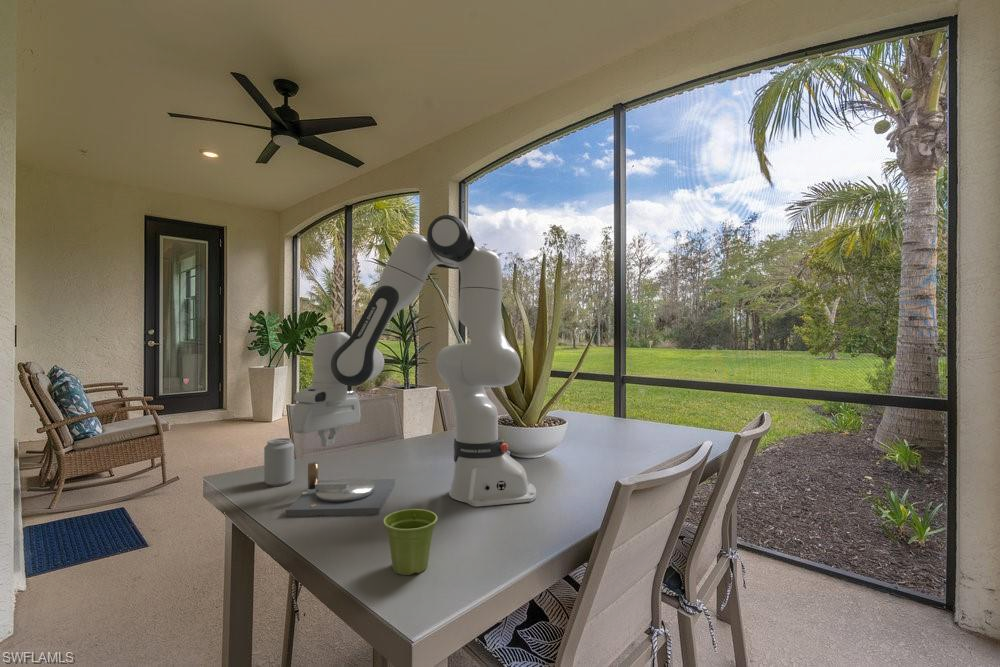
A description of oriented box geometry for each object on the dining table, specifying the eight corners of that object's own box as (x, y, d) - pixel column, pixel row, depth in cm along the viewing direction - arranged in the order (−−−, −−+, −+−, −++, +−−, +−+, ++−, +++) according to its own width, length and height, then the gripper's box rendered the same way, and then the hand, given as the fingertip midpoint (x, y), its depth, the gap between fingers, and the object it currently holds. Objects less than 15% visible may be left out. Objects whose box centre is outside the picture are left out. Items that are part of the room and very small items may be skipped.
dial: (379, 482, 123) (379, 455, 123) (367, 501, 109) (367, 471, 109) (317, 483, 122) (317, 456, 122) (297, 502, 108) (297, 472, 108)
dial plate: (394, 484, 127) (394, 478, 127) (379, 514, 106) (379, 507, 106) (316, 486, 126) (316, 479, 126) (285, 516, 105) (285, 508, 105)
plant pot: (400, 551, 88) (400, 506, 88) (445, 558, 85) (445, 511, 85) (372, 576, 79) (372, 525, 79) (422, 584, 76) (422, 532, 76)
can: (282, 488, 124) (282, 443, 124) (258, 486, 126) (258, 442, 126) (299, 479, 131) (299, 437, 131) (276, 477, 133) (276, 436, 133)
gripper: (350, 389, 132) (348, 437, 132) (288, 395, 114) (286, 451, 114) (366, 390, 129) (365, 440, 129) (306, 396, 111) (304, 454, 111)
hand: (327, 445), depth 121 cm, fingers closed
